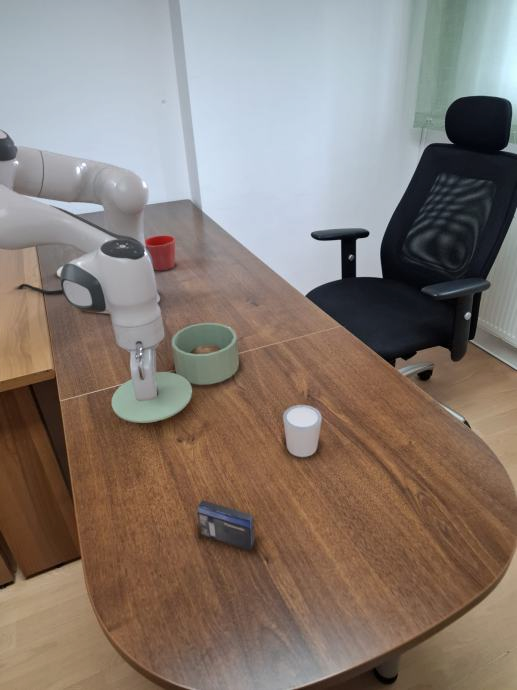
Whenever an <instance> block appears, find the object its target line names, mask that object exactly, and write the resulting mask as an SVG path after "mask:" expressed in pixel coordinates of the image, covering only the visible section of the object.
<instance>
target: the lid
mask: <svg viewBox="0 0 517 690" xmlns="http://www.w3.org/2000/svg"><path fill="white" fill-rule="evenodd" d="M156 372H157V397H156V398H155V399H152V400H146V401H138V400H137V399H136V397H135V393H134V388H133V383H132V378H131V379H129V380H127V381H125V382H124V383H122V384H121V385H119V387H118V388H117V389H116V390H115V392H114V393H113V395H112V397H111V403H110V404H111V408H112V410H113V413H115V415H116V416H117V417H119V418H120V419H122V420H125V421H127V422H131V423H137V424H142V423H143V424H147V423H154V422H155V423H156V422H160V421H163V420H166V419H169V418H171V417H173V416H175V415H177V414H179V412H181V411H182V410H183V409H185V407H187V405H188V404H189V403H190V401H191V399H192V397H193V388H192V387H193V386H192V385H191V384H192V383H189V381H188V380H187V379H185V378H184V377H182V376H180V375H178V374H176V373H174V372H169V371H156Z"/></svg>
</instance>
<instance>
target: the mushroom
mask: <svg viewBox="0 0 517 690" xmlns="http://www.w3.org/2000/svg"><path fill="white" fill-rule="evenodd" d="M219 350H221V348H219V347H217V346H214V345H204V346H198V347H196V348H194V349H193V350H192V351H191V353H192V354H208V353H212V352H217V351H219Z"/></svg>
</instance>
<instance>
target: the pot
mask: <svg viewBox="0 0 517 690" xmlns="http://www.w3.org/2000/svg"><path fill="white" fill-rule="evenodd" d="M170 340H171V342H170V343H171V350H172V357H173V363H174V364H173V365H174V369H175V374H178V375H180V376H182V377H184V378H185V379H187V380H188V381H189V383H190V384H193V385H199V386H200V385H212V384H216V383H220V382H223V381H226V380H227V379H229V378H232V376H233V375H234V374H235V373H237V371H238V369H239V366H240V359H239V347H238V344H239V343H238V336H237V333H236V331H235V330H234V329H233V328H232V327H230V326H228V325H225V324H223V323H222V324H221V323H216V322H201V323H196V324H191V325H188V326H186V327H183V328H181V329H180V330H178V331H176V332H175V334H173V336H172V338H171V339H170ZM204 345H214V346H217V347H219V348H221V350H219V351H217V352H212V353H208V354H192V353H191V351H192V350H193V349H194V348H196V347H198V346H204Z"/></svg>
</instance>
